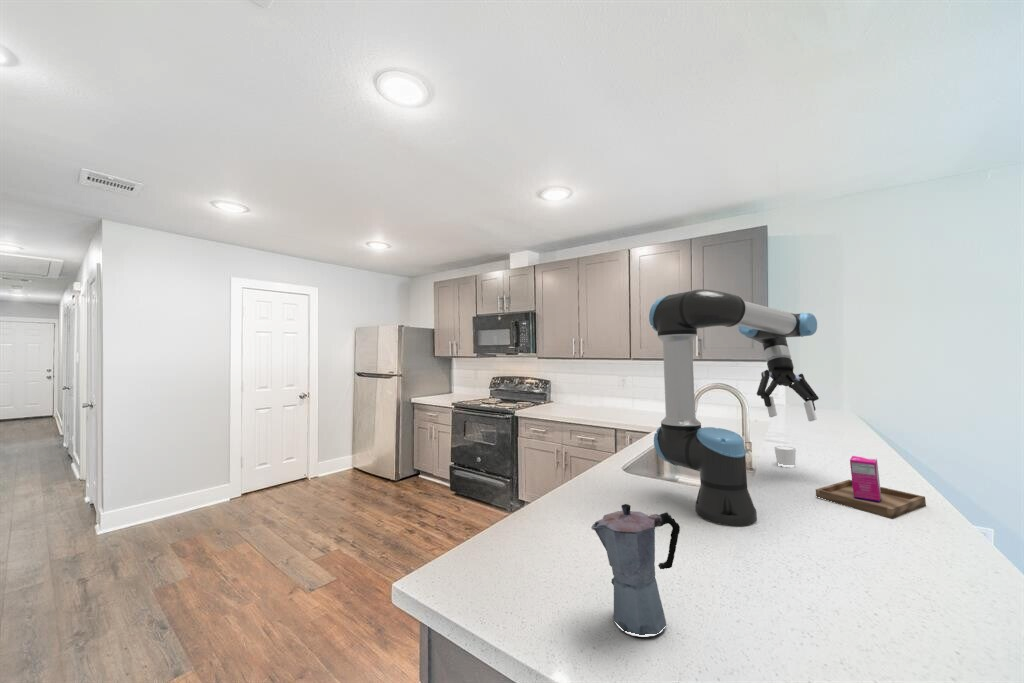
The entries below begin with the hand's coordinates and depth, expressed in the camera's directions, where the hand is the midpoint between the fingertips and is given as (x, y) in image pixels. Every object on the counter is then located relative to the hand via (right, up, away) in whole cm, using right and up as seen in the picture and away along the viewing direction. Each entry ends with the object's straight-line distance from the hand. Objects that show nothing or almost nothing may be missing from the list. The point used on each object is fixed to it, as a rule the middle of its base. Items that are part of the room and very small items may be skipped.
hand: (793, 418), depth 130 cm
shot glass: (+13, -23, +21) cm, 34 cm away
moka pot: (-72, -23, -63) cm, 98 cm away
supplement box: (+10, -20, -16) cm, 28 cm away
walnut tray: (+10, -21, -16) cm, 29 cm away
